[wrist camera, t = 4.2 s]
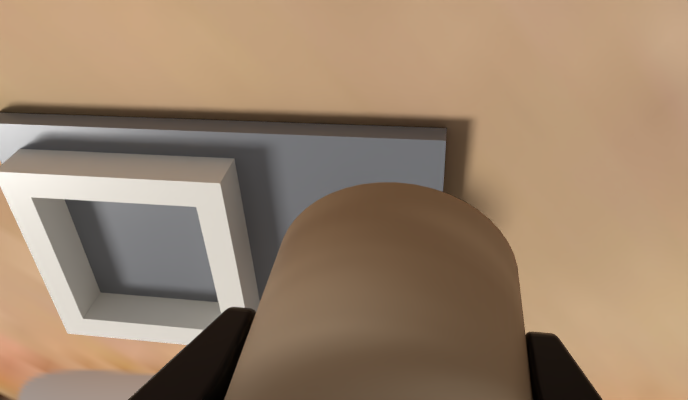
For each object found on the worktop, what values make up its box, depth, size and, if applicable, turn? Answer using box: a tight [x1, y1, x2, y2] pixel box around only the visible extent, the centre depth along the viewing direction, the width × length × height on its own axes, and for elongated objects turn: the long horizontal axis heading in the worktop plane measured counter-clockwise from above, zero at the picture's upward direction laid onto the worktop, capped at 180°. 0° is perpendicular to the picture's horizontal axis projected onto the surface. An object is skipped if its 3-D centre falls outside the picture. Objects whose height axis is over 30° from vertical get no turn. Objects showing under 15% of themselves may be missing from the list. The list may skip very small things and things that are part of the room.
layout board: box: [0, 112, 447, 345], centre depth 22 cm, size 16×10×4 cm, turn 93°
